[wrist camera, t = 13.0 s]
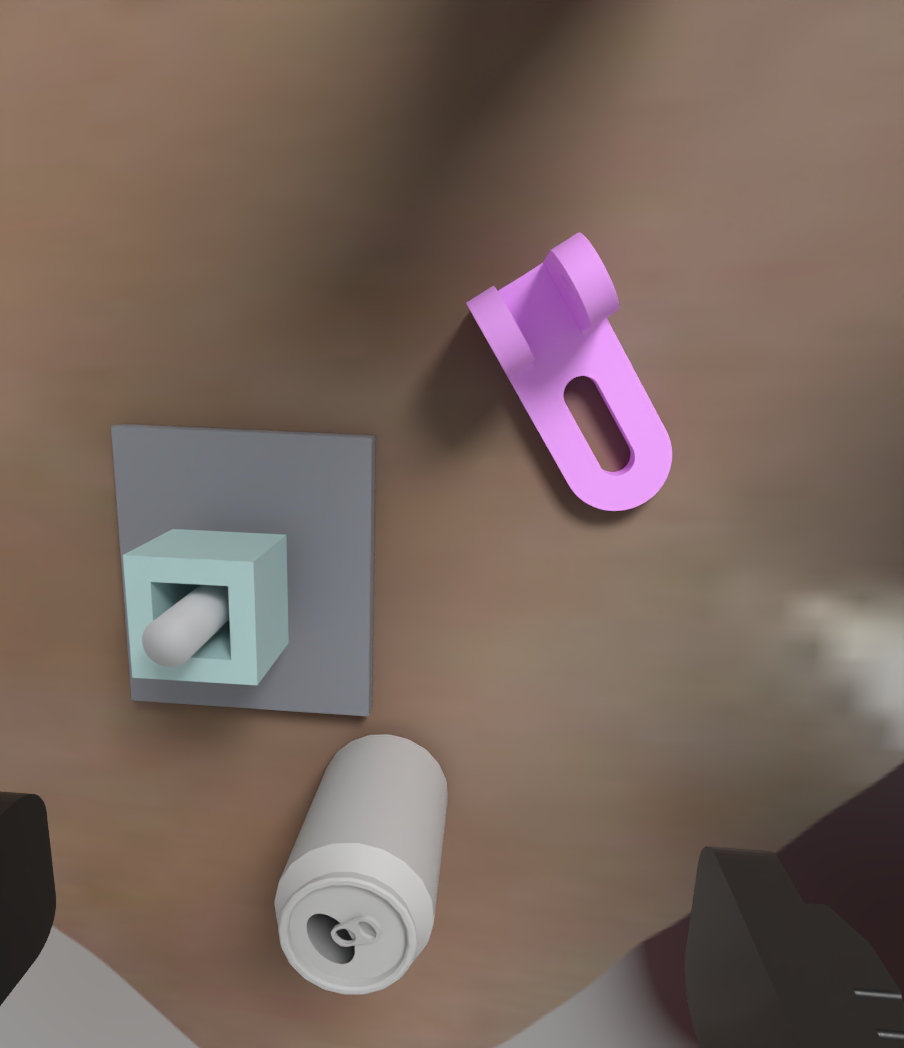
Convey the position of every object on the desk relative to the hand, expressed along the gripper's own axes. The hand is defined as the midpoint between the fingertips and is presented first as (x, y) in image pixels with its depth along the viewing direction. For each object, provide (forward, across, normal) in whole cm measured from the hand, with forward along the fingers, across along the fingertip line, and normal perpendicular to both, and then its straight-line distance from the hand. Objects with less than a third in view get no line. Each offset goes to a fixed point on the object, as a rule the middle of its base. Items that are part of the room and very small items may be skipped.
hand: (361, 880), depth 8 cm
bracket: (+30, -6, -5) cm, 31 cm away
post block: (+30, +12, +6) cm, 33 cm away
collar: (+27, +12, +6) cm, 30 cm away
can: (+30, +4, +19) cm, 36 cm away
